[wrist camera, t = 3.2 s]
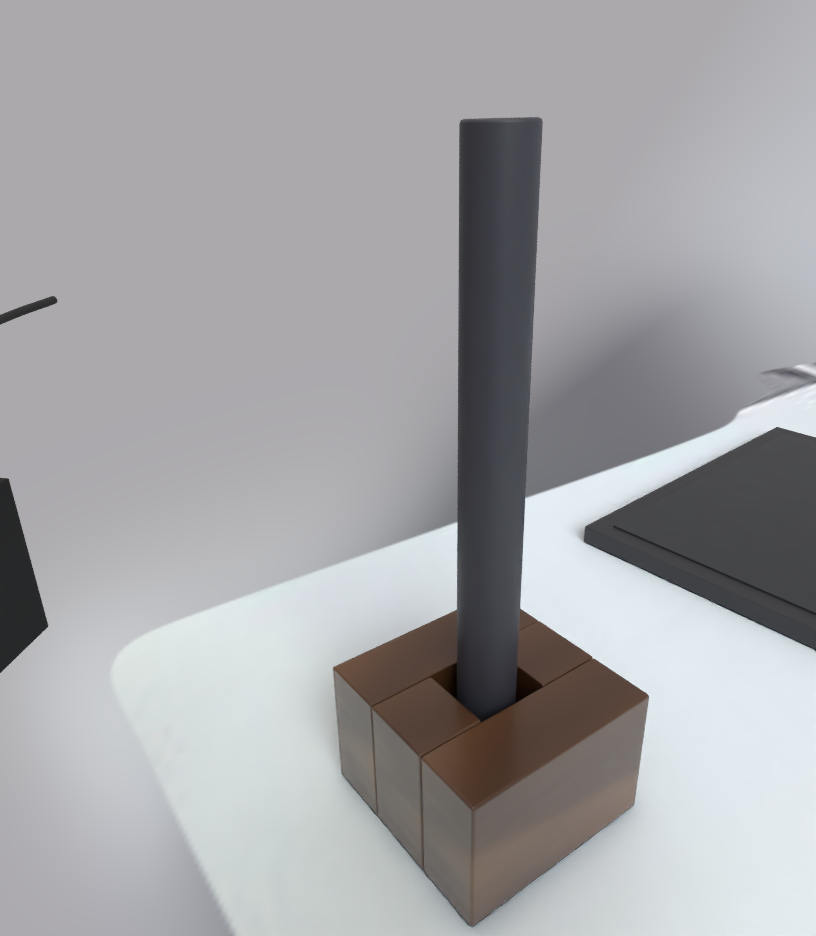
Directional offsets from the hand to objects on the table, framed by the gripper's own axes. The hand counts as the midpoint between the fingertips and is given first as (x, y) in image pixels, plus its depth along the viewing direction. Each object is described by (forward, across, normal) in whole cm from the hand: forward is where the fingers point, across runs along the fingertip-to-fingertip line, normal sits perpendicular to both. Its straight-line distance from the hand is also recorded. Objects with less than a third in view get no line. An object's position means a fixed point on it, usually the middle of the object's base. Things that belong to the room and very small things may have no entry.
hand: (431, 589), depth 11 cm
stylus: (+9, 0, -14) cm, 17 cm away
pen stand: (+9, 0, -14) cm, 17 cm away
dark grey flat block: (+29, +15, -14) cm, 36 cm away
